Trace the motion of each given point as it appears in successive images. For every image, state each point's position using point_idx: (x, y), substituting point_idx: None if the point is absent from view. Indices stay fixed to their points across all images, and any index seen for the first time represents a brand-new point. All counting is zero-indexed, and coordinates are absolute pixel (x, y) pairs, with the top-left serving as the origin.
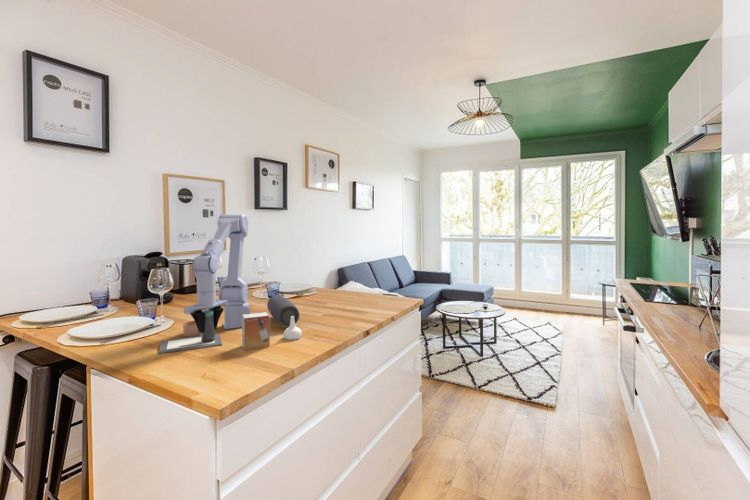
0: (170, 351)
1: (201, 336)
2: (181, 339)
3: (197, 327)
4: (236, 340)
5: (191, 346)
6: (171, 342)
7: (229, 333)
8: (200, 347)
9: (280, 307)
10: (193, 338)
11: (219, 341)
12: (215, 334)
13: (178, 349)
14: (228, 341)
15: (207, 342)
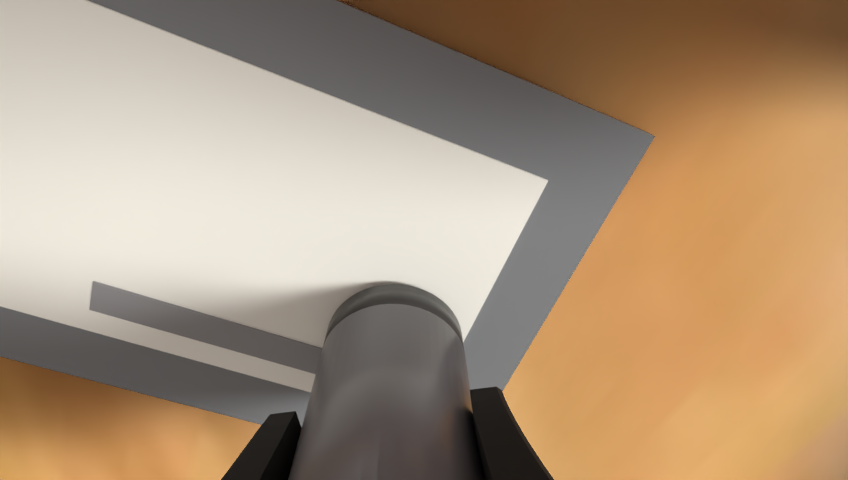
0: (4, 357)
1: (317, 369)
2: (145, 30)
3: (232, 468)
4: (606, 442)
5: (207, 367)
6: (3, 63)
7: (738, 195)
8: None
9: None
10: (297, 118)
11: None
12: (586, 155)
13: (80, 361)
14: (545, 421)
15: None
